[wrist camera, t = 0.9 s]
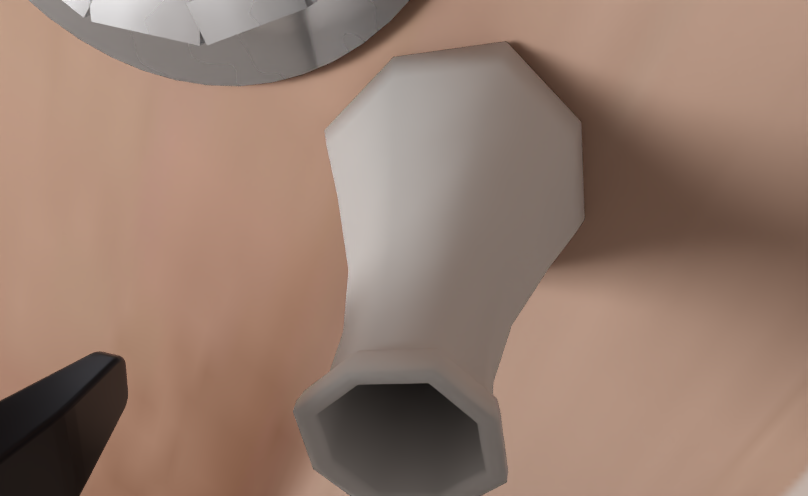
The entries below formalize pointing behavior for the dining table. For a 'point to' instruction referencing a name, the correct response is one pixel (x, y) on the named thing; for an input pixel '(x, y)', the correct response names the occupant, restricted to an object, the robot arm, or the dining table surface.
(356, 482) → the flask
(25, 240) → the dining table surface
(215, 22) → the duct flange
